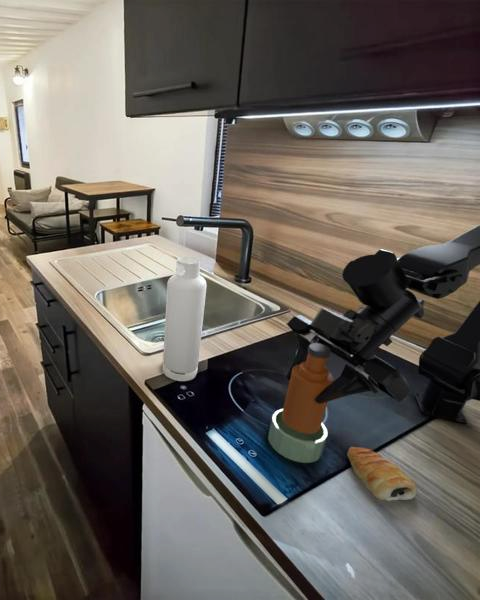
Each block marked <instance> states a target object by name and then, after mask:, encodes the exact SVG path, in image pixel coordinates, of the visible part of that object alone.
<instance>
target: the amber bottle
mask: <svg viewBox="0 0 480 600" xmlns="http://www.w3.org/2000/svg"><path fill="white" fill-rule="evenodd" d="M330 355H331V350H330V348H329V347H327V346H325V345H323V344H318V343H313V344H310V345H309V348H308V356H307V360H306V361H305V362H302V363H301V364H299V365H296V366H294V367H293V369H292V373H291V378H290V380H289V382H288V387H287V391H286V395H285V399H284V404H283V407H282V409H283V412H282V420H283V422H284V423H285V424H286V425H287V426H288V427H290V428H291V429H293V430H295V431H298V432H301V433H306V434H312V433H316V432H318V431H319V429H320V426H321V423H323V419H324V416H325V412H326V409H327V406H328V402H329V401H328V402H325V403H321V404H318V403H317V402H316V401H315V399H316V398H317V397H318V396H319V394H320V393H321V392H322V391H324V390H325V389H326V388H327V387H328V386H329V385H330V384H332V383H333V382H334V381H335V377H334V375H333V374H332V373H331V372H330V370H329V368H328V367H327V366H326V365H327V362H328V358H329V357H330Z"/></svg>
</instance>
